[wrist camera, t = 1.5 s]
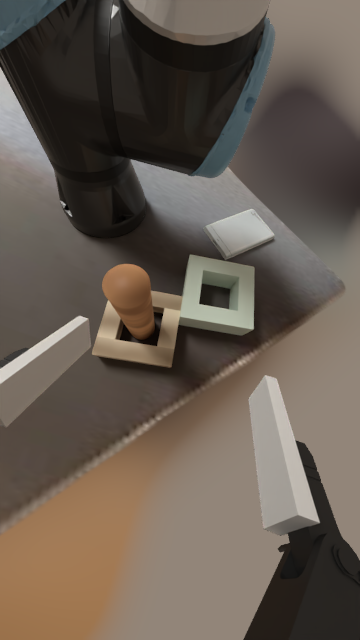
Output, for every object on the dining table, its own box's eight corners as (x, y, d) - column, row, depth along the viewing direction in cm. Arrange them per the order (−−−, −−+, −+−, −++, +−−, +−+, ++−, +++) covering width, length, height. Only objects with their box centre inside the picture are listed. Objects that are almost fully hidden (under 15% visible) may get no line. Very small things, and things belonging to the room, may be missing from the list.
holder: (117, 291, 30) (113, 283, 28) (180, 302, 30) (182, 296, 28) (97, 356, 26) (91, 354, 24) (170, 367, 27) (171, 367, 25)
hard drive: (252, 207, 38) (204, 225, 35) (275, 235, 36) (227, 256, 33) (248, 214, 40) (202, 231, 37) (271, 241, 38) (224, 262, 35)
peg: (132, 313, 29) (109, 260, 16) (157, 318, 29) (154, 268, 16) (126, 337, 28) (96, 300, 14) (152, 341, 28) (144, 309, 15)
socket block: (186, 268, 33) (189, 254, 29) (243, 279, 33) (254, 266, 29) (177, 324, 29) (180, 316, 25) (241, 335, 30) (253, 329, 26)
